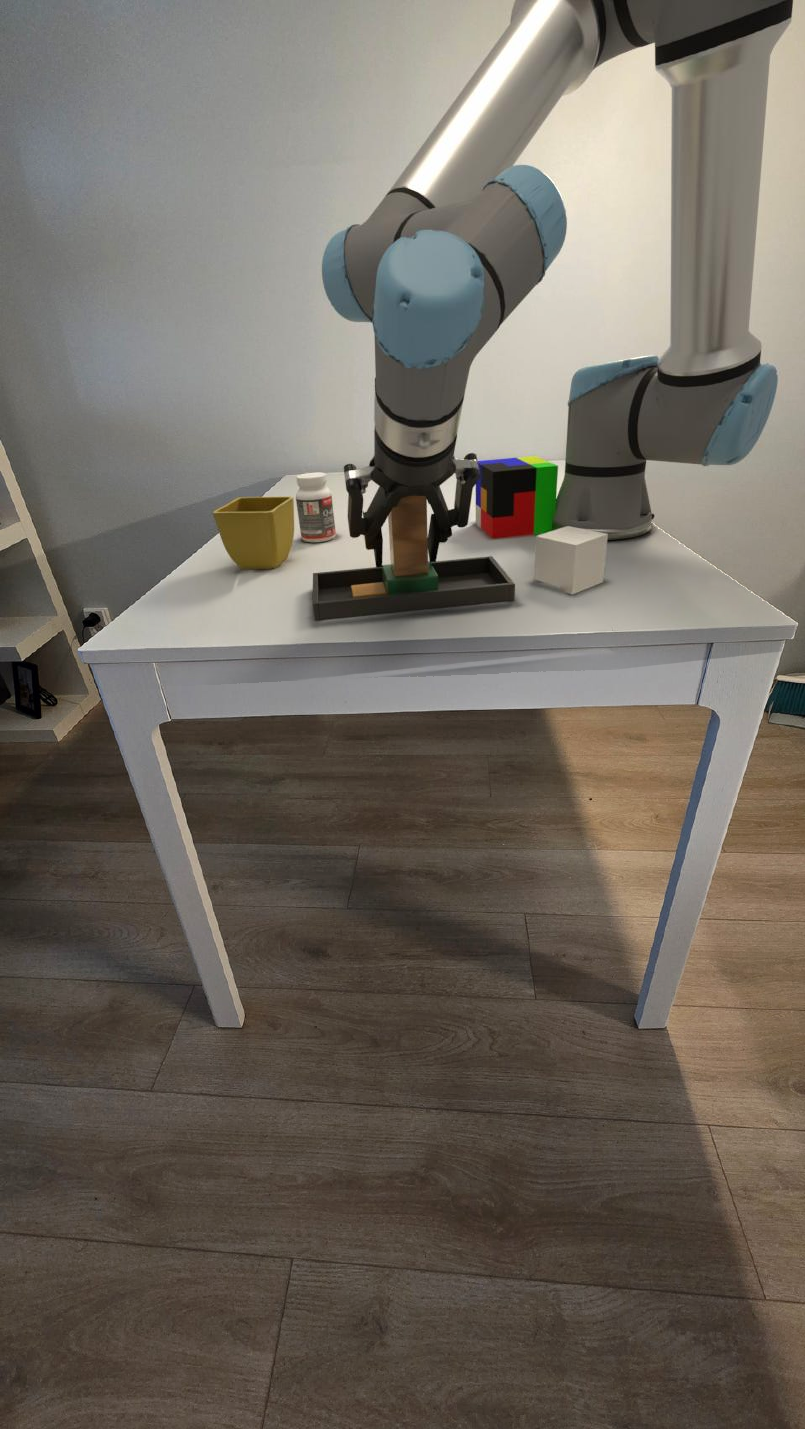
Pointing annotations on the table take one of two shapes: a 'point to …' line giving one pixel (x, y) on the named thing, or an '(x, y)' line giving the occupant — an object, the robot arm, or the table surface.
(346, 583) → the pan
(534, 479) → the puzzle toy
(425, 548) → the stacked blocks
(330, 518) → the pill bottle
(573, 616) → the table surface
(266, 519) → the flower pot
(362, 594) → the orange flat block
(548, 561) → the beige cube
